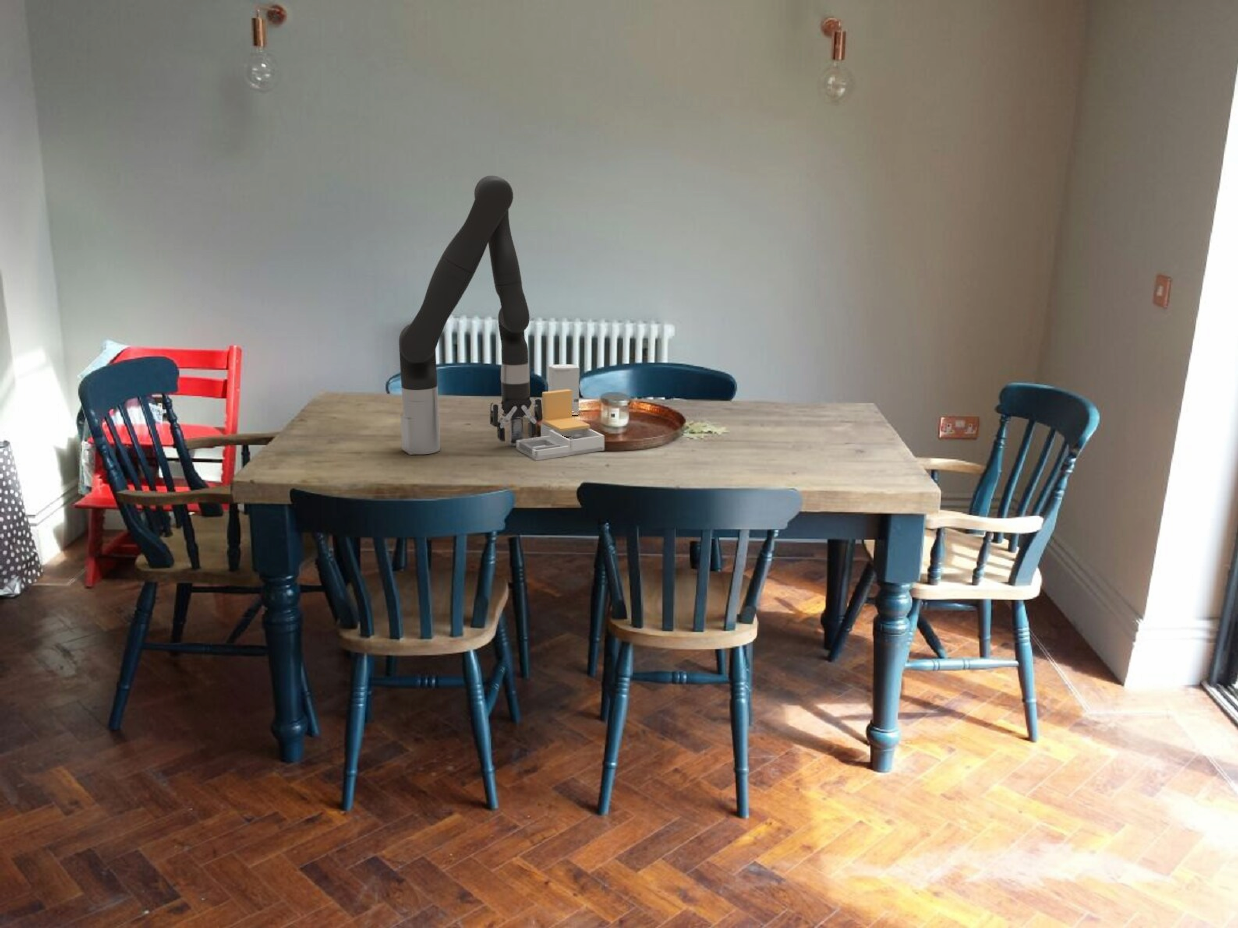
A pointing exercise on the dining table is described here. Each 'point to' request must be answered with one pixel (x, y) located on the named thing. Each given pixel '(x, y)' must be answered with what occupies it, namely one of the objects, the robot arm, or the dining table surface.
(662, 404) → the dining table surface
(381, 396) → the dining table surface
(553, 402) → the orange l-shaped block
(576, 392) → the skincare box
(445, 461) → the dining table surface
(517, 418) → the pin
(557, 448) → the box
